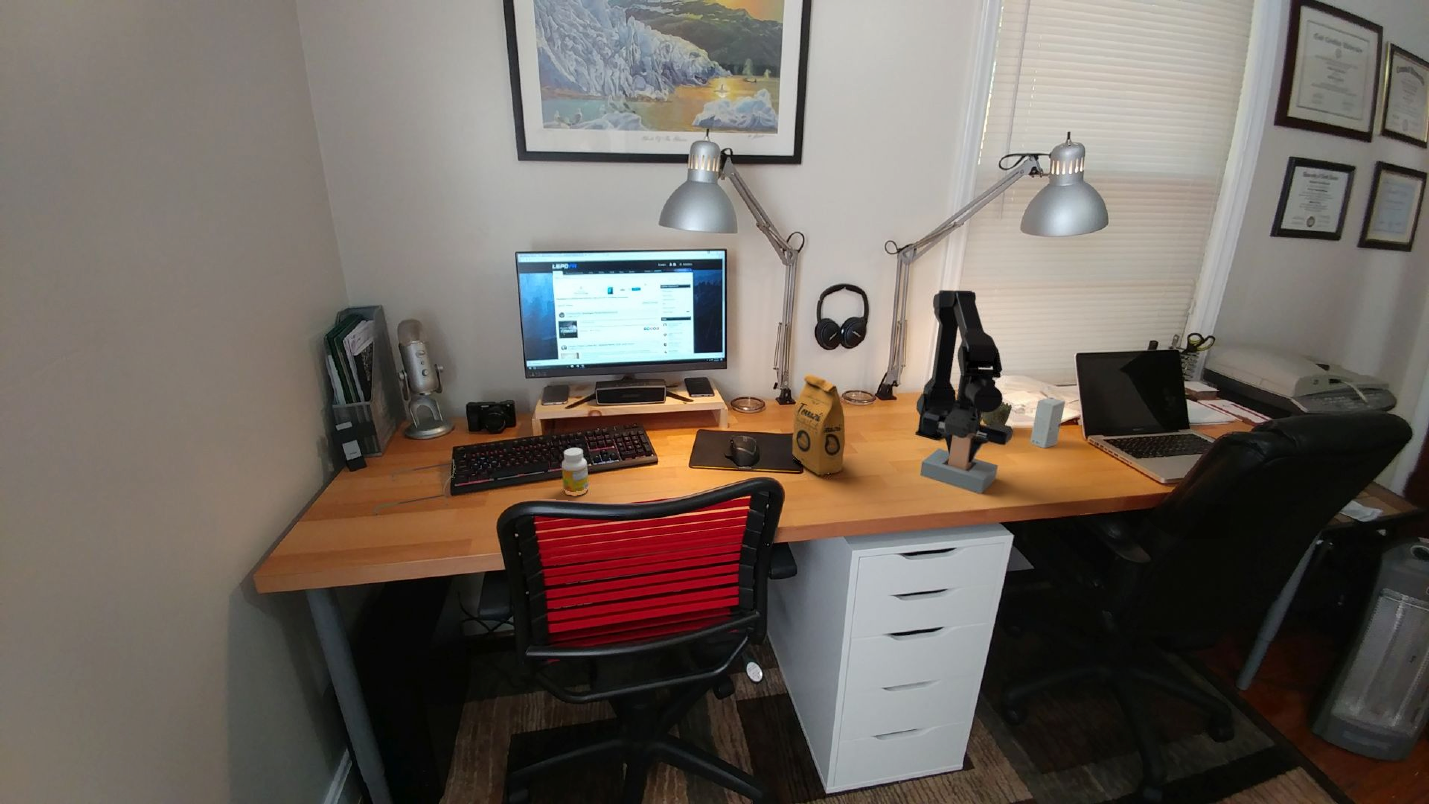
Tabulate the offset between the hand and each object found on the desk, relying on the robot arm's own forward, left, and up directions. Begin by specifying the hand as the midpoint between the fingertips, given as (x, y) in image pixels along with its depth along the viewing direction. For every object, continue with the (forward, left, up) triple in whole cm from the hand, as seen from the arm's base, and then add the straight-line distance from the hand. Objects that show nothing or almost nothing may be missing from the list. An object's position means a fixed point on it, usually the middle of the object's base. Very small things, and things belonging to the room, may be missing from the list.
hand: (960, 459), depth 139 cm
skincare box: (+10, +35, -5) cm, 37 cm away
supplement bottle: (-61, -64, -5) cm, 89 cm away
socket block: (0, 0, -4) cm, 4 cm away
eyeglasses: (-86, -87, -5) cm, 123 cm away
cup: (-3, +35, -5) cm, 35 cm away
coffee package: (-28, -17, -5) cm, 33 cm away
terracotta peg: (0, 0, -2) cm, 2 cm away
